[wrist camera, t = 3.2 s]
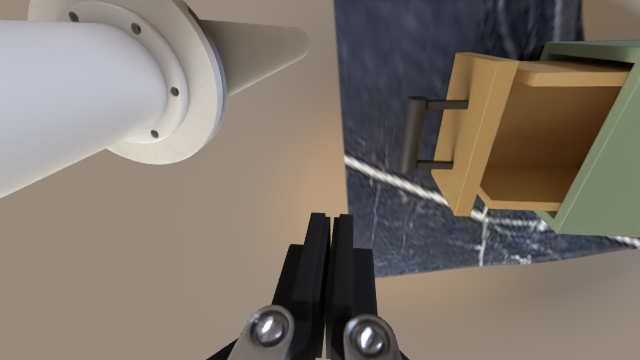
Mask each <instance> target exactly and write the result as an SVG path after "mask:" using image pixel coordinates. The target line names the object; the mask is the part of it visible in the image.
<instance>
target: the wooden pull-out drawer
mask: <svg viewBox="0 0 640 360" xmlns="http://www.w3.org/2000/svg"><path fill="white" fill-rule="evenodd" d="M634 64H635V63H632V62H623V61H614V60H565V61H518V60H512V59H506V58H501V57H495V56H489V55H483V54H477V53H471V52H462V53H456V56H455V60H454V65H453V70H452V75H451V80H450V84H449V89H448V94H447V99H446V100H428V98H426V97H422V96H411V97H409V98H408V103H407V110H406V117H405V125H404V132H403V139H402V146H401V154H400V161H399V170H400V171H402V172H405V173H413V172H415V170H416V168H417V169H432V171H431V174H432V176H433V178H434V180H435V181H436V183H437V185H438V187H439V189H440V190H441V192H442V194H443V196H444V197H445V199H446V201H447V203H448V205H449V206H450V208H451V210H452V212H453V213H454V215H455V216H470V214H471V211H472V208H473V205H474V202H475V199H476V196H477V194H478V195H479V196H480V197H481V199H482V200H483V201H484V203H485V204H486V205H487V206H488V208H490V209H516V210H542V211H559V209H560V207H561V205H562V203H563V201H564V199H565V197H566V195H567V193H568V191H569V189H570V187H571V186H572V184H573V182H574V180H575V178H576V176H577V174H578V172H579V170H580V168H581V166H582V164H583V162H584V161H585V159H586V157H587V155H588V153H589V151H590V149H591V147H592V145H593V143H594V141H595V139H596V137H597V135H598V134H599V132H600V130H601V128H602V126H603V124H604V122H605V120H606V118H607V116H608V114H609V112H610V110H611V109H612V107H613V105H614V103H615V101H616V99H617V97H618V95H619V93H620V91H621V89H622V87H623V85H624V83H625V82H626V80H627V78H628V76H629V74H630V72H631V70H632V68H633V66H634ZM426 109H444V113H443V118H442V123H441V128H440V133H439V137H438V142H437V147H436V152H435V157H434V160H417V159H418V153H419V147H420V142H421V136H422V130H423V124H424V119H425V113H426Z"/></svg>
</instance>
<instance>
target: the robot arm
mask: <svg viewBox="0 0 640 360" xmlns="http://www.w3.org/2000/svg"><path fill="white" fill-rule="evenodd" d="M187 106H188V88H187V84H186V79H185V75H184V72H183V70H182V67H181V65H180V62H179V60H178V59H177V57H176V55H175V53H174V52H173V50H172V48H171V47H170V46H169V44H168V43H167V42H166V40H165V39H164V38H163V37H162V35H161V34H160V33H159V32H158V31H157V30H156V29H155V28H154V27H153V26H152V25H151V24H149V23H148V22H147V21H145V20H144V19H143V18H141V17H140V16H138V15H137V14H135V13H133V12H131V11H129V10H127V9H125V8H123V7H121V6H117V5H114V4H110V3H104V2H96V1H89V2H80V3H77V4H74V5H71V6H69V7H68V8H67V9H65V10H64V11H63V12H62V13H60V15H59V16H58V18H57V19H56V21H55V22H48V21H18V20H0V198H1V197H4V196H6V195H8V194H10V193H12V192H14V191H17V190H18V189H21V188H23V187H25V186H27V185H29V184H31V183H33V182H35V181H38V180H39V179H42V178H44V177H46V176H48V175H50V174H52V173H54V172H57V171H59V170H60V169H63V168H65V167H67V166H69V165H71V164H73V163H75V162H78V161H80V160H82V159H84V158H86V157H88V156H90V155H92V154H94V153H97V152H99V151H100V150H103V149H105V148H107V147H109V146H111V145H113V144H115V143H118V142H120V141H122V140H125V141H128V142H132V143H141V144H145V143H154V142H157V141H160V140H162V139H164V138H166V137H168V136H169V135H171V134H172V133H173V132H175V131H176V130H177V129H178V128H179V126H180V125H181V123H182V122H183V120H184V117H185V115H186V112H187ZM330 239H331V238H330V217H326V216H325V213H311V217H310V221H309V226H308V229H307V233H306V238H305V242H304V245H298V244H291V245H290V246H289V249H288V252H287V255H286V258H285V262H284V265H283V269H282V272H281V275H280V278H279V281H278V285H277V288H276V291H275V294H274V298H273V301H272V304H271V305H269V306H265V307H263V308H261V309H259V310H257V311H256V312H255V313H254V314H252V316H251V317H250V318H249V320H248V321H247V323H246V325H245V327H244V329H243V330H242V332H241V334H240V336H239V338H238V339H236V340H235V341H233V342H232V343H230V344H229V345H227V346H226V347H224V348H223V349H221V350H220V351H218V352H217V353H216V354H214V355H213V356H211V357H210V358H208V359H207V360H315V359H316V358H321V357H322V349H323V339H324V329H325V326H326V359H331V360H409V359H408V358H407V357H406V356H405V355H404V354H403V353H402V352H401V351H400V350H399V347H398V344H397V340H396V337H395V334H394V332H393V330H392V328H391V327H390V326H389V324H388V323H387V322H386V321H385V320H383V319H382V318H381V317H379V316H378V314H377V301H376V289H375V276H374V264H373V252H372V249H361V248H353V215H352V214H340V217H335V218H334V225H333V234H332V243H331V240H330ZM330 244H331V245H330Z"/></svg>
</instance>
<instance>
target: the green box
mask: <svg viewBox="0 0 640 360" xmlns="http://www.w3.org/2000/svg"><path fill="white" fill-rule="evenodd" d="M565 60H614V61H623V62H632V63H635V64H634V66H633V68H632V70H631V72H630V74H629V76H628V78H627V80H626V82H625V83H624V85H623V87H622V89H621V91H620V93H619V95H618V97H617V99H616V101H615V103H614V105H613V107H612V109H611V110H610V112H609V114H608V116H607V118H606V120H605V122H604V124H603V126H602V128H601V130H600V132H599V134H598V135H597V137H596V139H595V141H594V143H593V145H592V147H591V149H590V151H589V153H588V155H587V157H586V159H585V161H584V162H583V164H582V166H581V168H580V170H579V172H578V174H577V176H576V178H575V180H574V182H573V184H572V186H571V187H570V189H569V191H568V193H567V195H566V197H565V199H564V201H563V203H562V205H561V207H560V209H559V211H542V210H533V211H534V212H535V213H536V214H537V215H538V216H539V217H540V218H541V219H542V220H543V221H544V222H545V223H546V224H548V225H549V226H550V227H551V228H552V229H553V230H554V231H555V232H556V233H559V234H580V235H602V236H623V237H640V40H613V41H567V42H546V43H545V46H544V49H543V52H542V55H541V57H540V60H539V61H565Z"/></svg>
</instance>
